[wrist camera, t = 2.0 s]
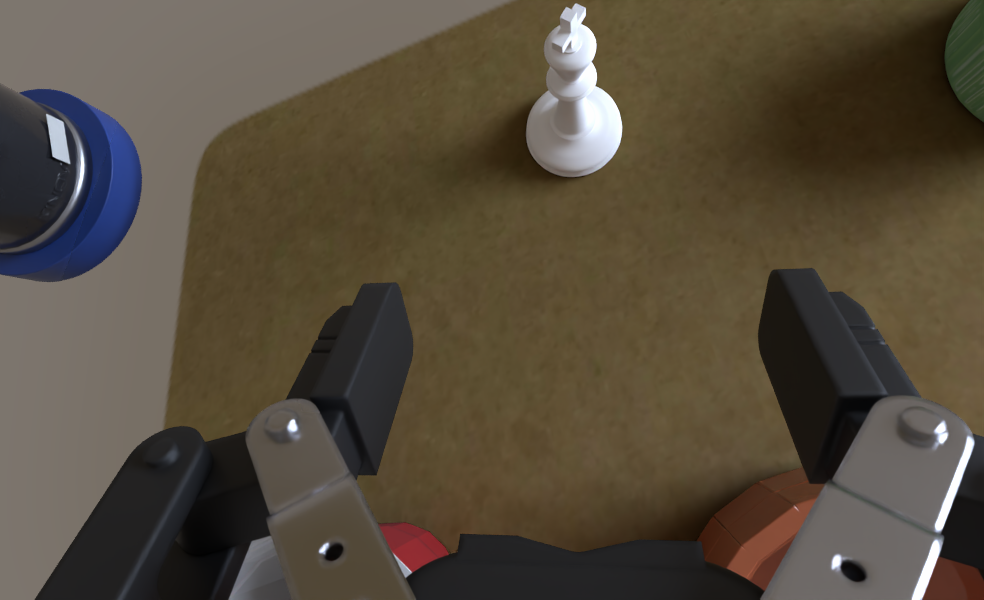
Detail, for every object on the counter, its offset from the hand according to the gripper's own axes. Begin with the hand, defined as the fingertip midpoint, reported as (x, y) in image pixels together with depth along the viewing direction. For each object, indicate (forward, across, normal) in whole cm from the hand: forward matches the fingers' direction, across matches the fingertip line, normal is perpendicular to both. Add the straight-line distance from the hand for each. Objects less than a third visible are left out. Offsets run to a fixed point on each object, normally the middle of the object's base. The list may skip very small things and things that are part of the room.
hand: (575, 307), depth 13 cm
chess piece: (+20, 0, +4) cm, 20 cm away
